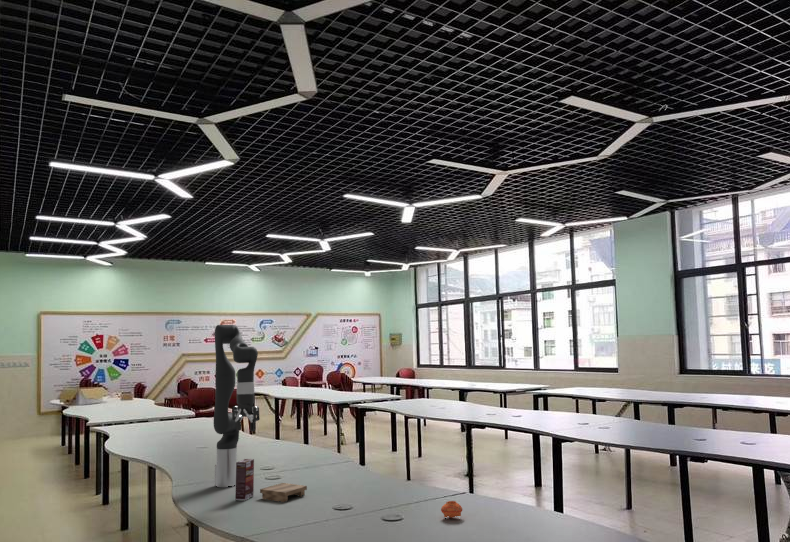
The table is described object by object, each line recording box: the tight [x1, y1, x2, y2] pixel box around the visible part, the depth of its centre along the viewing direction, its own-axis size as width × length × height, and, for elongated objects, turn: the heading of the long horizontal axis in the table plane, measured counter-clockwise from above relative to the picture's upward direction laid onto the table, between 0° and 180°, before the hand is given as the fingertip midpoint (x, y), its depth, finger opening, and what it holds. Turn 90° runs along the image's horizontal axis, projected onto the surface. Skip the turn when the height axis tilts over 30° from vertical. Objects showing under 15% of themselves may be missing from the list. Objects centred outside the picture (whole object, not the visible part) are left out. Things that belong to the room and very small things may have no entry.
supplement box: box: [234, 458, 255, 501], centre depth 267 cm, size 9×5×16 cm, turn 168°
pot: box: [440, 500, 464, 518], centre depth 230 cm, size 8×8×7 cm
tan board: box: [259, 482, 308, 503], centre depth 268 cm, size 14×14×4 cm
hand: (245, 430), depth 270 cm, fingers open, 8 cm apart
